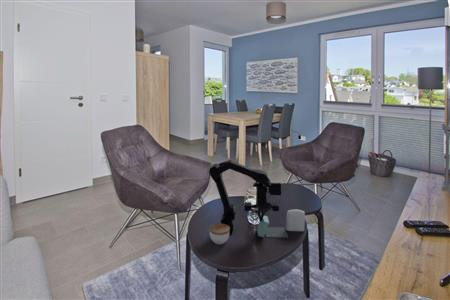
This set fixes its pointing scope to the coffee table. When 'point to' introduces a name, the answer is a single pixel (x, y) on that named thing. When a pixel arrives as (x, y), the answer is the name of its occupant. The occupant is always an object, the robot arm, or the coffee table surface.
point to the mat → (276, 232)
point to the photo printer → (295, 220)
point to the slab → (262, 226)
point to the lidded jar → (219, 233)
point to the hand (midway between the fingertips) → (260, 221)
